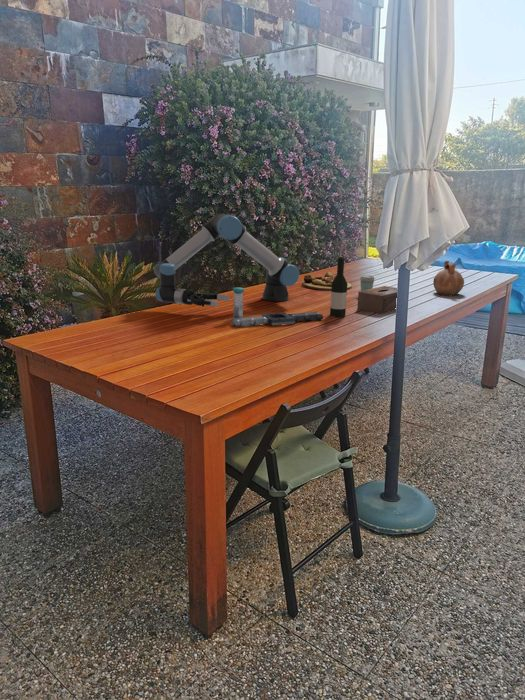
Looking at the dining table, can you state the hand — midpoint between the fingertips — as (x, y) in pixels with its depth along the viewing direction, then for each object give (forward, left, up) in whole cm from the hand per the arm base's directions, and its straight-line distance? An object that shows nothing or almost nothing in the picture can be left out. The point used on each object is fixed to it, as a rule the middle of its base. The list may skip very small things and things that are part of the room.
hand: (223, 300), depth 275 cm
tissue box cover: (+7, +89, -9) cm, 90 cm away
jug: (-14, +153, -9) cm, 154 cm away
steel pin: (+5, +6, -8) cm, 11 cm away
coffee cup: (-23, +99, -9) cm, 102 cm away
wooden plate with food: (-59, +93, -9) cm, 110 cm away
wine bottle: (+14, +57, -9) cm, 59 cm away
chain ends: (+17, +22, -8) cm, 29 cm away
